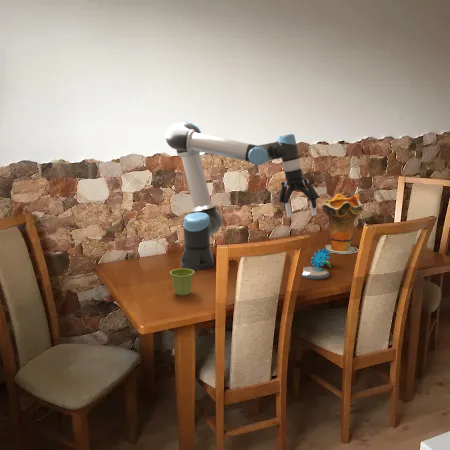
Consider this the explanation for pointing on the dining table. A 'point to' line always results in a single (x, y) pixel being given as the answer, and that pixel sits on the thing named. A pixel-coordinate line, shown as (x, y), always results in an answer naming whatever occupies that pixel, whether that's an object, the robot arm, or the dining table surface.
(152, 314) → the dining table surface
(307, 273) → the plate
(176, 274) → the plant pot
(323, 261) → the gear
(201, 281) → the dining table surface
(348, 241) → the decorative vase
